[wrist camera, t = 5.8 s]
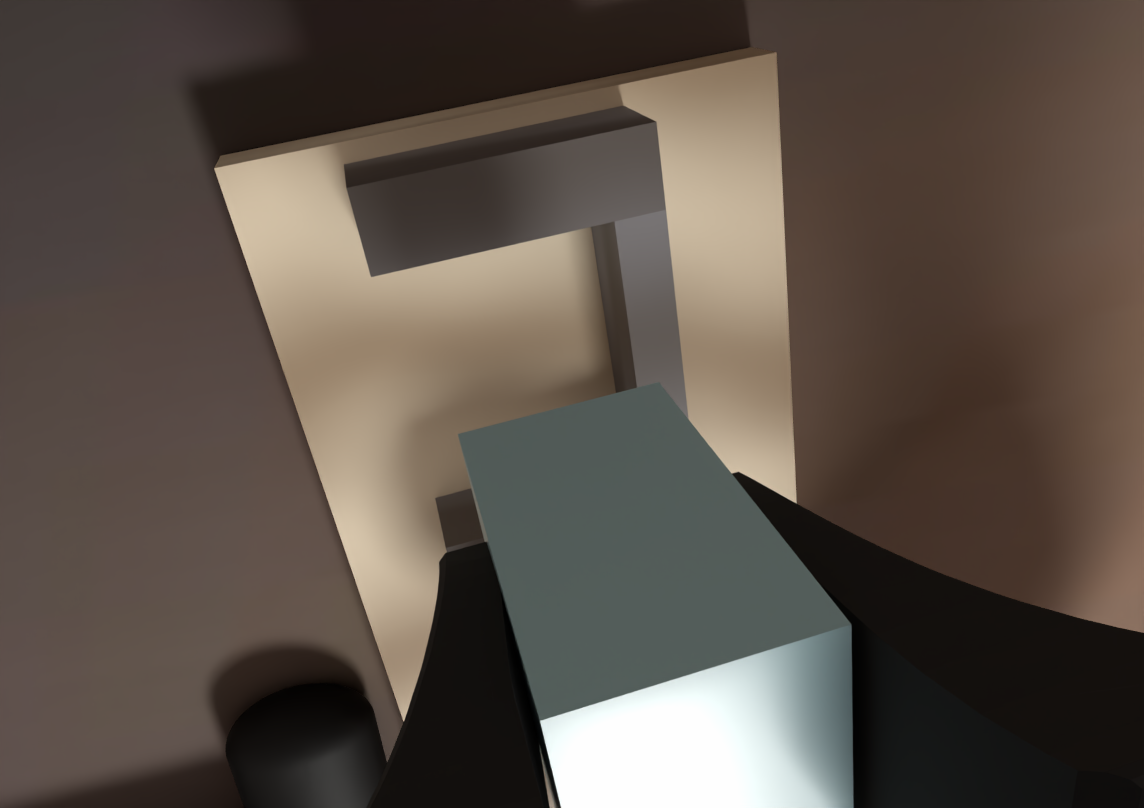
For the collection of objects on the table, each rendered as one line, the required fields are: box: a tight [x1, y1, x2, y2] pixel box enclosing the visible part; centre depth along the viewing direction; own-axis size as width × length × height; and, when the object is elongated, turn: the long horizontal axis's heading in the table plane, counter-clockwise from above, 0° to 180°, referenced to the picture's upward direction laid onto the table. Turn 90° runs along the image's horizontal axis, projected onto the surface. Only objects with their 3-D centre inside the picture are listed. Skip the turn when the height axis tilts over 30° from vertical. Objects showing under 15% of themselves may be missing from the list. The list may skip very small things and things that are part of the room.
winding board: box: [214, 47, 797, 808], centre depth 22 cm, size 26×11×6 cm, turn 9°
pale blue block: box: [458, 382, 853, 808], centre depth 12 cm, size 4×3×6 cm, turn 9°
